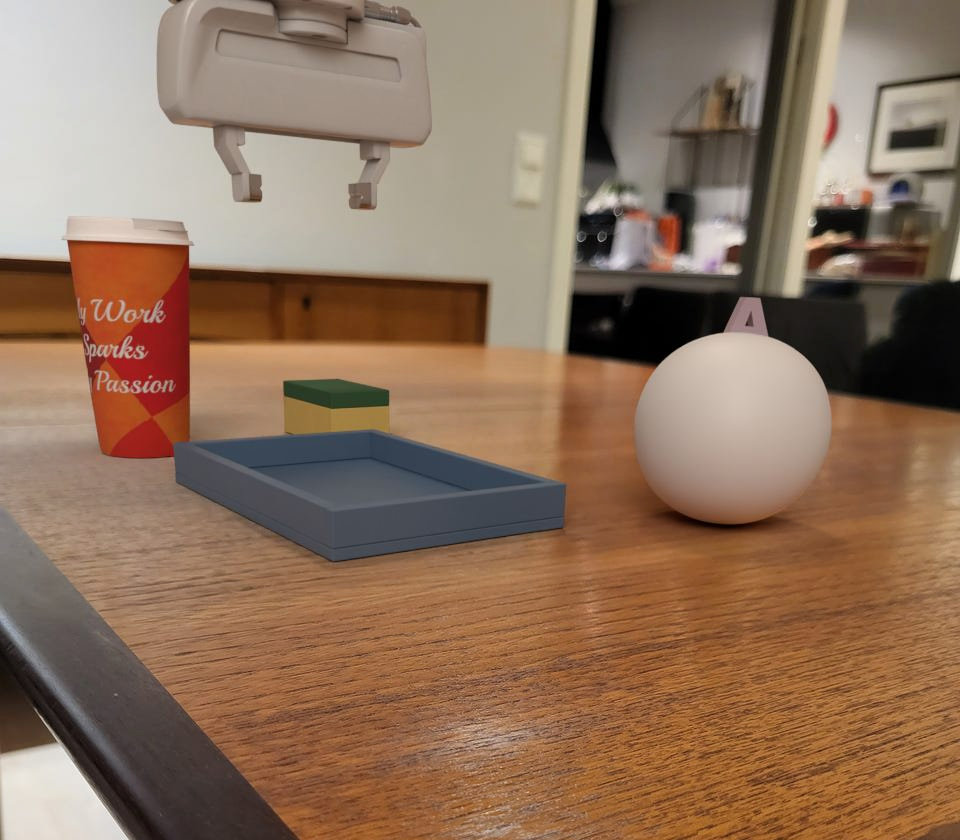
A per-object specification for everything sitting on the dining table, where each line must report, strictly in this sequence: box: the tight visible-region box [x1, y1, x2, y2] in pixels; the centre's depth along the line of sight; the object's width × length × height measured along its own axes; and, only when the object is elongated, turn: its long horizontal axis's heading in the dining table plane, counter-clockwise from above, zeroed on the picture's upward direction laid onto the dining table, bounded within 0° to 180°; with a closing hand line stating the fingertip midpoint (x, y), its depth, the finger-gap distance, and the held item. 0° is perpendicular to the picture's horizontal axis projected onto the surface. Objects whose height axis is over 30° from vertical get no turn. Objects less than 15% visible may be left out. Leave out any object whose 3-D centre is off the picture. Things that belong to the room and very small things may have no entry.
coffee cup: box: [61, 215, 195, 459], centre depth 68 cm, size 8×8×15 cm
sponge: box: [282, 378, 390, 435], centre depth 78 cm, size 8×5×4 cm, turn 36°
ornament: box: [633, 296, 833, 525], centre depth 55 cm, size 10×10×12 cm
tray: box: [173, 429, 567, 562], centre depth 57 cm, size 20×14×2 cm
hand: (307, 206), depth 73 cm, fingers open, 8 cm apart
